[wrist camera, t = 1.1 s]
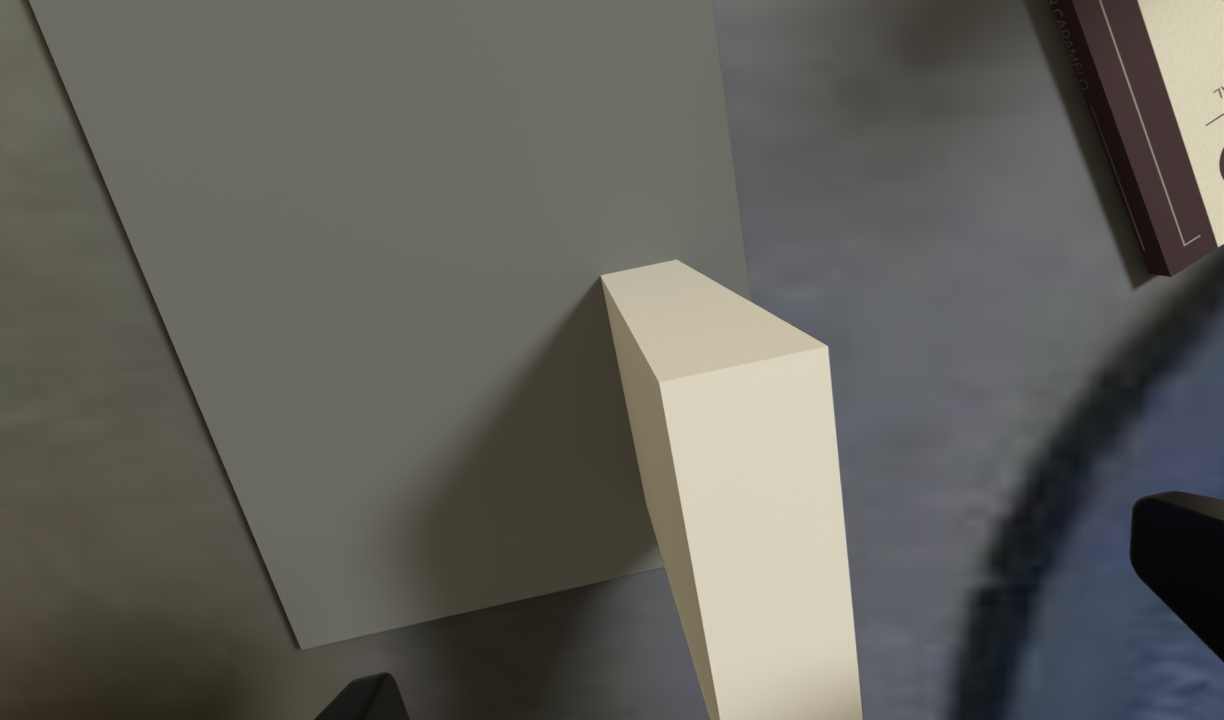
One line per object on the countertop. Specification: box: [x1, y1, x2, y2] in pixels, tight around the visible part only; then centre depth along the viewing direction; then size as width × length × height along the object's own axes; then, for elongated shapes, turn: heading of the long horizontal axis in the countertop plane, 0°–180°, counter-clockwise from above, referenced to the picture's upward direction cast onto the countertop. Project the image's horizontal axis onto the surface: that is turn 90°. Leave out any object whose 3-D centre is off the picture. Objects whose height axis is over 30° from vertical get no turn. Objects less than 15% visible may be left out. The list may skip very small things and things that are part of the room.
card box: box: [600, 260, 863, 720], centre depth 11 cm, size 6×2×8 cm, turn 11°
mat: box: [29, 0, 751, 650], centre depth 14 cm, size 18×13×1 cm
